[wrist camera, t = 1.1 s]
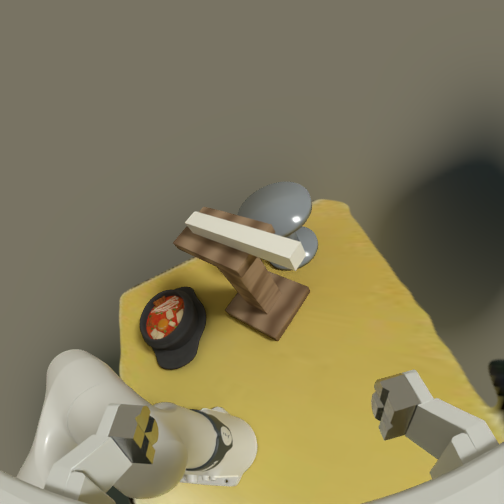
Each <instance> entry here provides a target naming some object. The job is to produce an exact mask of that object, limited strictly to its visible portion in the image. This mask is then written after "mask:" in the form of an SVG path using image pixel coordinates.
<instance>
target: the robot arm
mask: <svg viewBox="0 0 504 504" xmlns="http://www.w3.org/2000/svg"><path fill="white" fill-rule="evenodd" d="M46 386H47V387H46V395H45V400H44V404H43V408H42V412H41V416H40V420H39V423H38V427H37V431H36V435H35V438H34V442H33V445H32V448H31V450H30V452H29V455H28V456H27V458H26V460H25V462H24V464H23V466H22V467H21V469H20V471H19V473H18V475H17V477H13V476H11V475H9V474H7V473H5V472H2V471H1V470H0V504H116V503H115V501H114V500H113V499H112V498H110V497H109V496H108V495H107V494H106V492H107V491H108V490H109V489H110V488H111V487H112V486H114V487H115V488H117V489H118V490H119V491H120V492H122V493H123V494H124V495H126V496H128V497H130V498H136V499H149V498H154V497H158V496H161V495H163V494H165V493H167V492H169V491H170V490H172V489H173V488H174V487H175V486H176V485H177V484H178V483H179V482H184V483H192V484H203V485H215V486H236V485H237V484H238V483H239V481H240V479H241V476H242V474H243V473H244V472H245V471H246V470H247V469H248V468H249V467H250V466H251V464H252V463H253V461H254V459H255V456H256V453H257V440H256V436H255V434H254V432H253V430H252V428H251V427H250V426H249V425H248V424H247V423H246V422H245V421H243V420H242V419H240V418H238V417H235V416H232V415H230V414H229V413H228V412H227V411H226V410H225V409H223V408H222V407H215V408H213V409H207V408H202V410H194V409H187V408H184V407H181V406H179V405H176V404H173V403H170V402H161V403H157V404H155V405H151V404H150V403H148V402H147V401H146V400H144V399H143V398H142V397H141V396H139V395H138V394H137V393H136V392H135V391H134V390H133V389H131V388H130V387H129V386H127V385H126V384H125V382H124V381H123V380H122V379H121V378H120V377H119V376H118V375H117V374H116V373H115V372H114V371H113V370H112V369H111V368H110V367H109V366H108V365H107V364H106V363H104V362H103V361H101V360H99V359H98V358H97V357H94V356H93V355H91V354H90V353H88V352H86V351H83V350H78V349H73V350H67V351H65V352H62V353H61V354H59V355H58V356H56V357H55V358H54V359H53V361H52V362H51V364H50V365H49V368H48V371H47V385H46ZM374 388H375V390H376V392H375V393H374V394H373V395H372V401H371V402H372V410H373V414H374V416H375V418H376V419H377V420H379V421H380V425H379V429H380V432H381V434H382V437H383V439H384V441H385V440H388V439H392V438H395V437H399V436H402V435H405V434H406V435H405V436H406V437H408V438H409V439H410V440H412V441H413V442H414V443H416V444H417V445H419V446H420V447H421V448H423V449H424V450H426V451H427V452H428V453H430V454H431V455H433V456H434V457H435V458H437V459H438V461H437V462H436V463H435V465H434V466H433V468H432V469H431V471H430V474H431V477H432V480H429V481H427V482H424V483H422V484H419V485H417V486H414V487H412V488H409V489H406V490H404V491H401V492H398V493H395V494H392V495H389V496H386V497H383V498H379V499H376V500H373V501H369V502H365V503H362V504H504V442H502V443H501V444H498V442H497V440H496V439H495V437H494V435H493V434H492V432H491V430H490V429H489V427H488V426H487V424H486V422H485V421H484V420H482V419H480V418H478V417H475V416H473V415H471V414H469V413H467V412H465V411H463V410H461V409H459V408H457V407H454V406H452V405H450V404H448V403H446V402H444V401H442V400H440V399H438V398H436V399H433V397H432V395H431V394H430V392H429V390H428V389H427V387H426V385H425V384H424V382H423V381H422V379H421V377H420V376H419V374H418V373H417V371H416V370H411V371H407V372H404V373H399V374H396V375H393V376H389V377H385V378H382V379H378V380H376V382H375V385H374ZM226 479H227V480H228V482H226Z"/></svg>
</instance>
